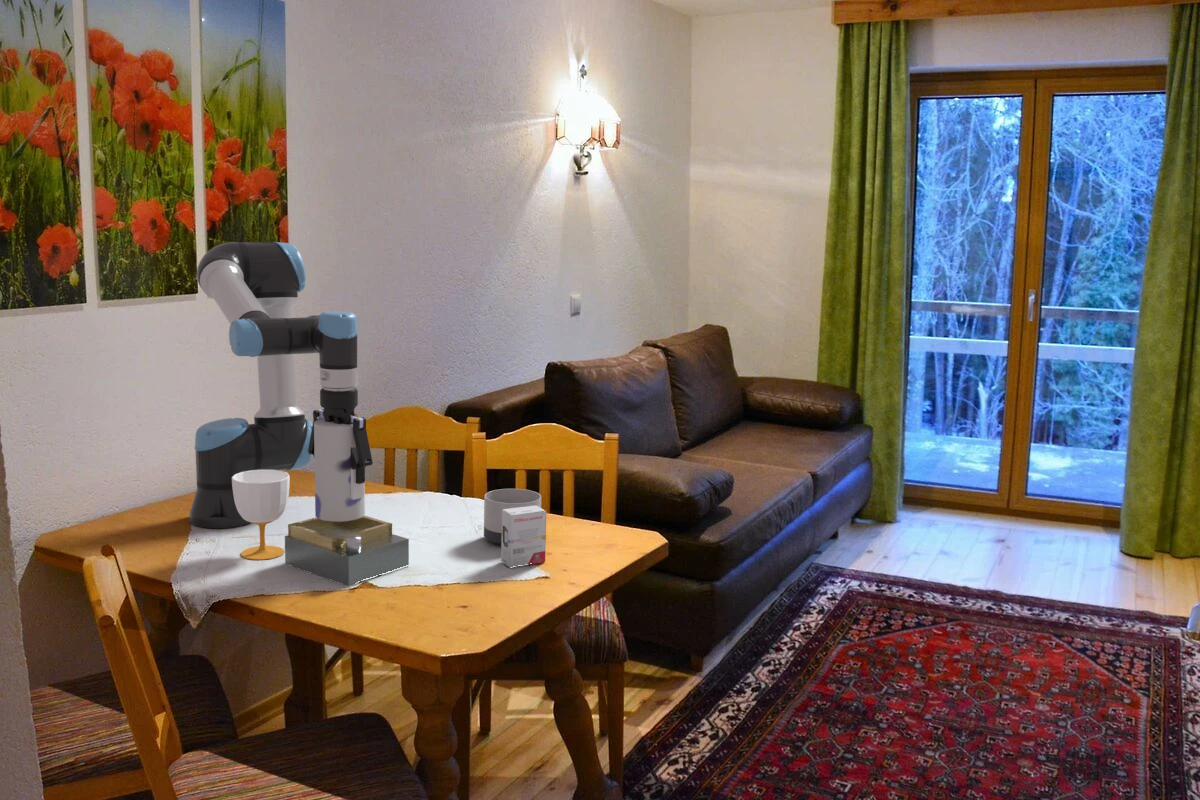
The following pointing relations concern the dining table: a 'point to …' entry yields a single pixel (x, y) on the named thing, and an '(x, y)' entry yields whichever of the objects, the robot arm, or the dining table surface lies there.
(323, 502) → the container
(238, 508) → the cup
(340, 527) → the grey boxy piece
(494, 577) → the dining table surface
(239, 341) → the robot arm
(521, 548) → the ink box
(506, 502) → the planter
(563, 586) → the dining table surface
